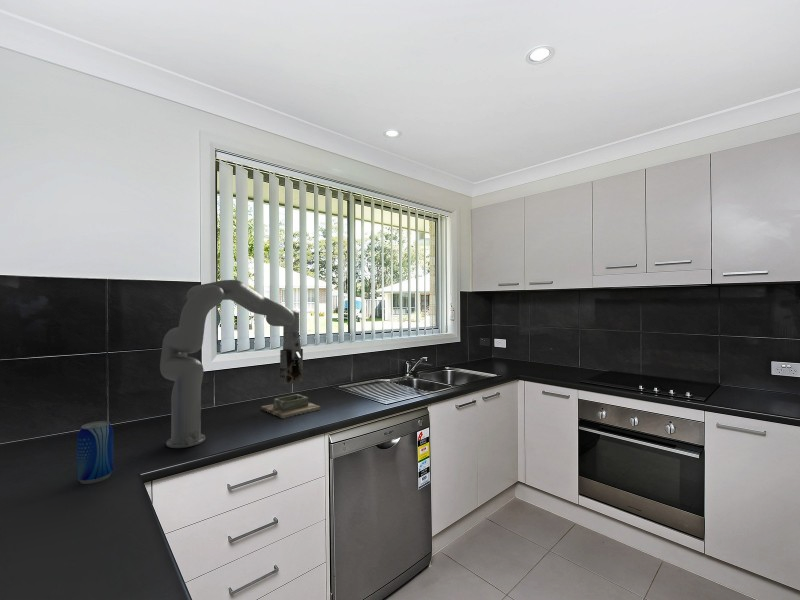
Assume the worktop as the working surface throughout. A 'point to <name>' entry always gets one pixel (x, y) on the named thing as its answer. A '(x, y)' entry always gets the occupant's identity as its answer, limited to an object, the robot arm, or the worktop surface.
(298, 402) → the collar board
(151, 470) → the worktop surface
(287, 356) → the coffee box
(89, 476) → the beer can
